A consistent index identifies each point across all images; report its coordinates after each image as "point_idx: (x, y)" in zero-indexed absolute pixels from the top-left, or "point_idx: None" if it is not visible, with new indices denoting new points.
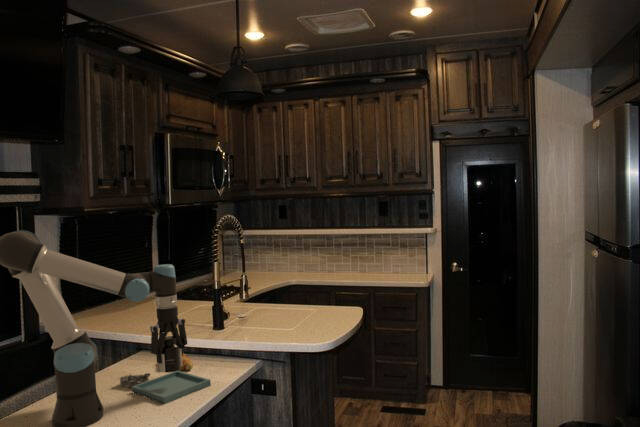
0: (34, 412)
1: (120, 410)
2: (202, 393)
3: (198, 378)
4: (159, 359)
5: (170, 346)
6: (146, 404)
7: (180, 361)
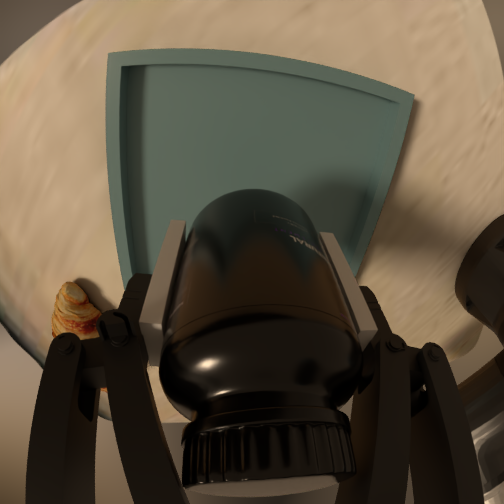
0: (451, 350)
1: (461, 211)
2: (223, 5)
3: (120, 134)
4: (376, 310)
5: (328, 376)
6: (417, 164)
7: (180, 242)
